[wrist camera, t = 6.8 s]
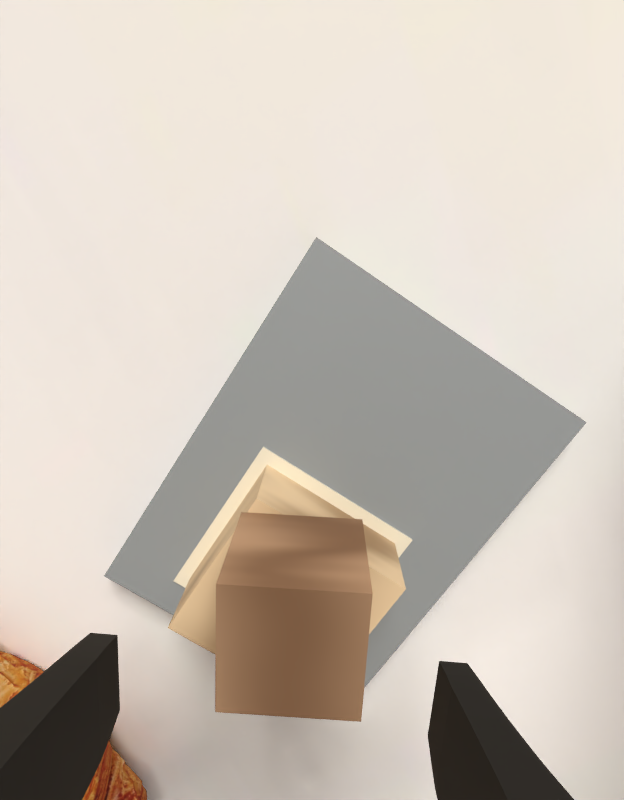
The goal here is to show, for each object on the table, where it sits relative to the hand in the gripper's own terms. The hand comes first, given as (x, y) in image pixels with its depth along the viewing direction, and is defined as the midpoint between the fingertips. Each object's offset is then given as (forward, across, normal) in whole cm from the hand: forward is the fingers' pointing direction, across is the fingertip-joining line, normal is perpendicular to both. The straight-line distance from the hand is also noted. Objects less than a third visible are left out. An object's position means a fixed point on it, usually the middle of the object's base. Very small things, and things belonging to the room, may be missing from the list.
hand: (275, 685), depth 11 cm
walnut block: (+6, 0, +1) cm, 6 cm away
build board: (+10, -1, 0) cm, 10 cm away
